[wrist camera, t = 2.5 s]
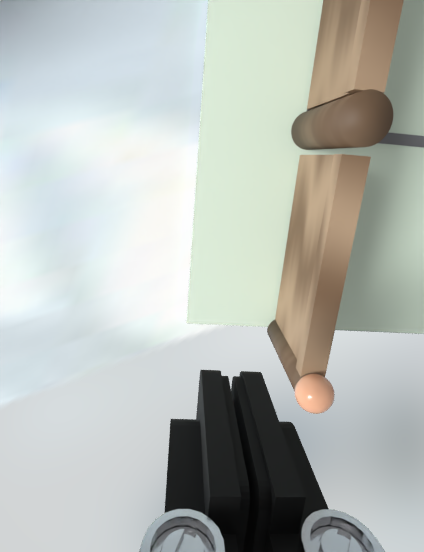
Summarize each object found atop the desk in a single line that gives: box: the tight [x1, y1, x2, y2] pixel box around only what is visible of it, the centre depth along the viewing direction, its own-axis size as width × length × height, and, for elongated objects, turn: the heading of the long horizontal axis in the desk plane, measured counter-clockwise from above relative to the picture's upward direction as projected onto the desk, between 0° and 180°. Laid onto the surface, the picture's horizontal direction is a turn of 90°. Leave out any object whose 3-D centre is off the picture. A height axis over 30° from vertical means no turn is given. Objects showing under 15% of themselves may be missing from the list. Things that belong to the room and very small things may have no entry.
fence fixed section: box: [291, 0, 404, 150], centre depth 15 cm, size 11×2×7 cm, turn 175°
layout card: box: [187, 0, 424, 334], centre depth 21 cm, size 23×20×1 cm
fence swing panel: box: [267, 154, 371, 414], centre depth 18 cm, size 12×2×8 cm, turn 175°
